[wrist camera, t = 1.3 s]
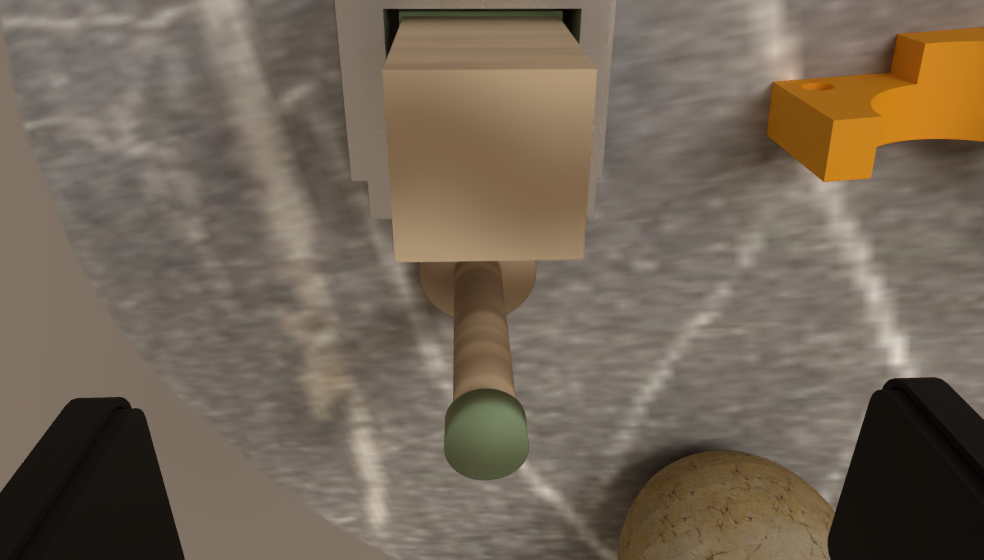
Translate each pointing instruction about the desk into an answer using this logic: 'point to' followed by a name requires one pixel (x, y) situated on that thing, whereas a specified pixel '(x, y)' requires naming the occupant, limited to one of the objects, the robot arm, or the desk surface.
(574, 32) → the sleeve
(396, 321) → the desk surface
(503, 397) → the marker post
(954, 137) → the pipe clamp
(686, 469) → the fossilized egg
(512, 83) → the column
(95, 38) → the desk surface
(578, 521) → the desk surface
